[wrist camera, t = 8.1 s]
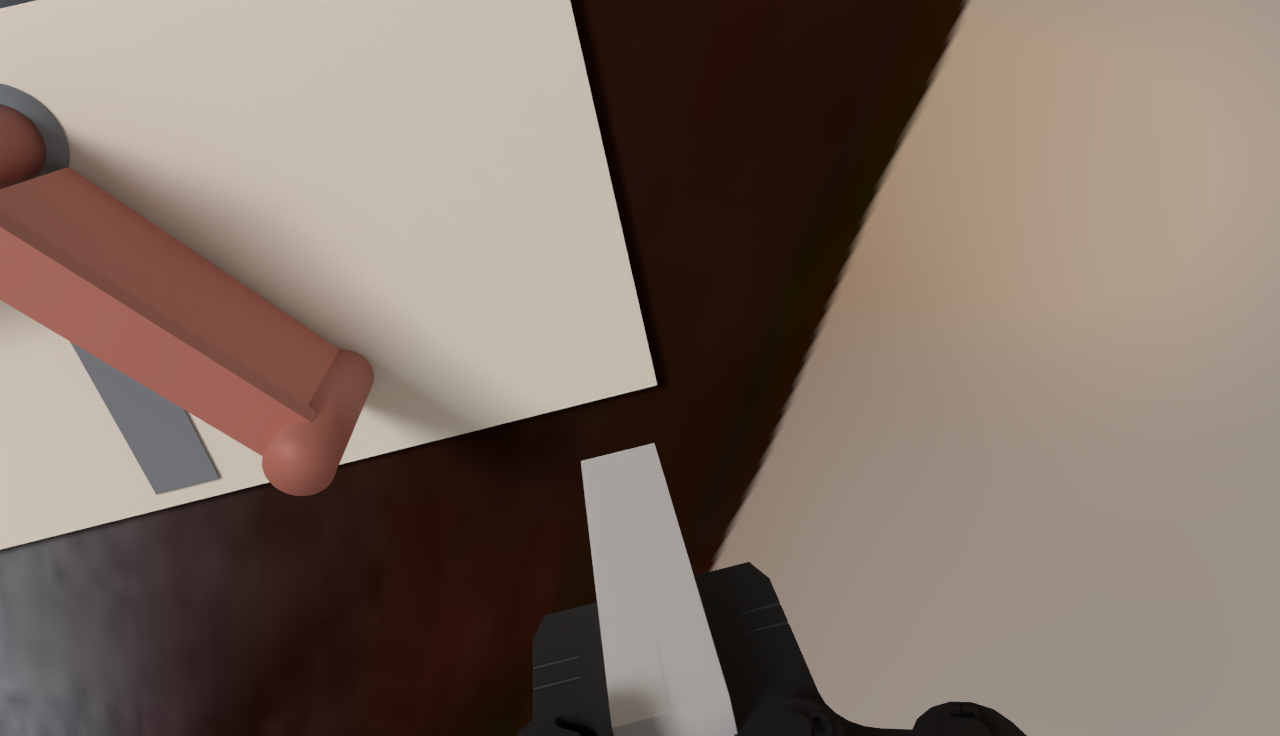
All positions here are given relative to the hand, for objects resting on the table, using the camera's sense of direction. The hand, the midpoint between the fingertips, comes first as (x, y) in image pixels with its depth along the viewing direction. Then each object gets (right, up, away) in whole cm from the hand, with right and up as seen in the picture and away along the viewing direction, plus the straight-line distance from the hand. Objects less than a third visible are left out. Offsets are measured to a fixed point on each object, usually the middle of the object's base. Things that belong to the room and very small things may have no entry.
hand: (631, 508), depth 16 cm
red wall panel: (-14, +5, +11) cm, 18 cm away
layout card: (-16, +6, +11) cm, 21 cm away
